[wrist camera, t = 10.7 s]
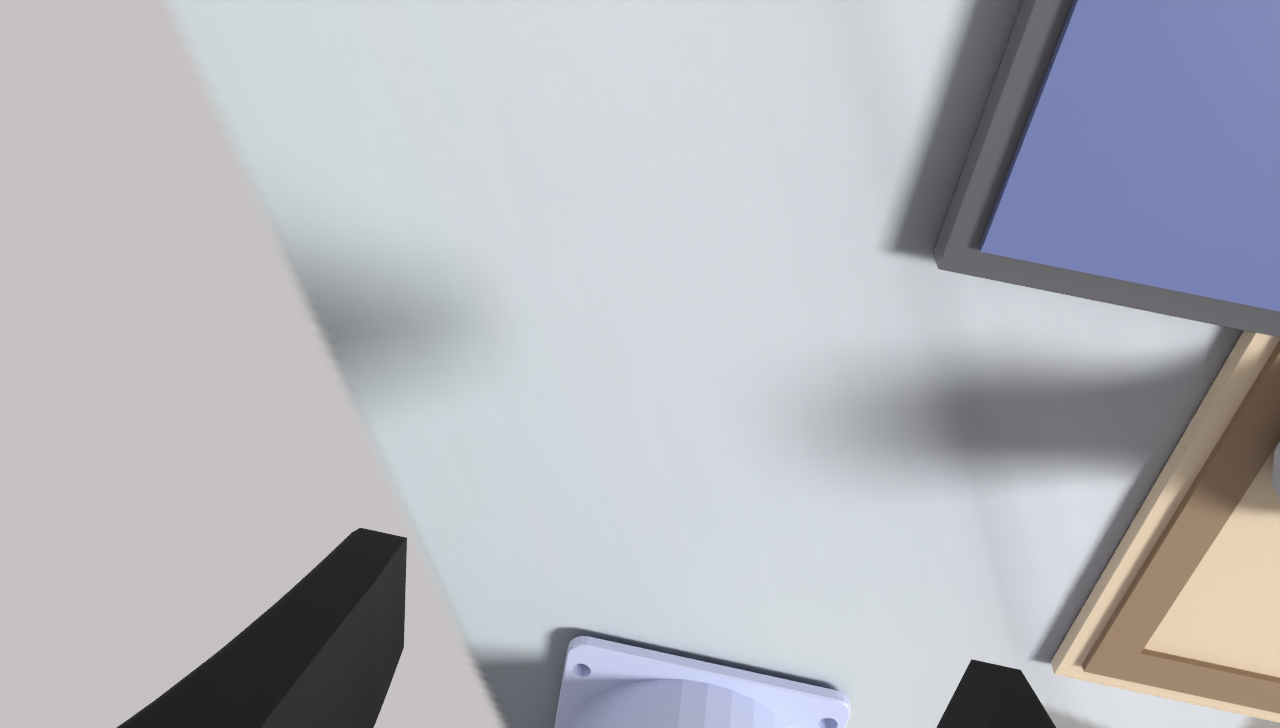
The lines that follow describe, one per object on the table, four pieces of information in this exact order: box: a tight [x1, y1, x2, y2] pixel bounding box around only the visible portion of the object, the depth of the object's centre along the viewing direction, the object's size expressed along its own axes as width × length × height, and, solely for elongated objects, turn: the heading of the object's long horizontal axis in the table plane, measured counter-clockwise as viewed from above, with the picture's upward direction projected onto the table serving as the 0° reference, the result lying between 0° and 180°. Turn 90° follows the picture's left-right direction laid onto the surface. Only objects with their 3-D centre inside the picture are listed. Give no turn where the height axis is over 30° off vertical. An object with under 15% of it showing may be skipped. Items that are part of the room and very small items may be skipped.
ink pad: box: [933, 0, 1280, 337], centre depth 16 cm, size 8×8×1 cm
